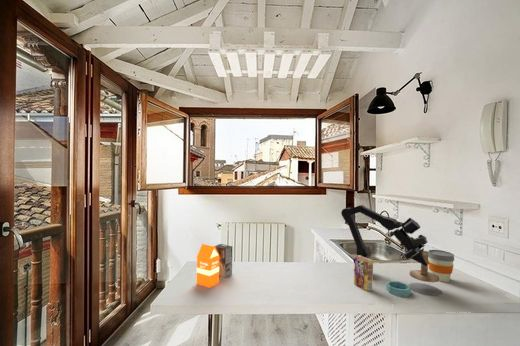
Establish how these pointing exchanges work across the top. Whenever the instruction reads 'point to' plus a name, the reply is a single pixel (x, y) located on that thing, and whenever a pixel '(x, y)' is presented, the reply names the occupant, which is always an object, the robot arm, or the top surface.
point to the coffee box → (224, 259)
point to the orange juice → (207, 266)
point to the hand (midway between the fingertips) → (427, 264)
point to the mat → (425, 289)
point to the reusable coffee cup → (441, 264)
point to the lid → (424, 271)
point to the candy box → (363, 272)
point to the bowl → (398, 288)
